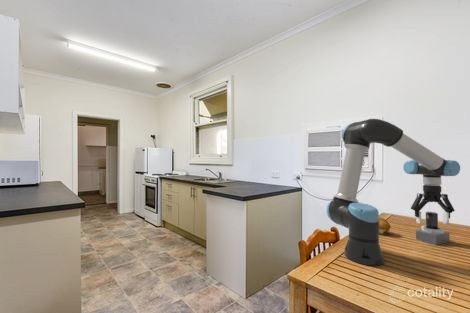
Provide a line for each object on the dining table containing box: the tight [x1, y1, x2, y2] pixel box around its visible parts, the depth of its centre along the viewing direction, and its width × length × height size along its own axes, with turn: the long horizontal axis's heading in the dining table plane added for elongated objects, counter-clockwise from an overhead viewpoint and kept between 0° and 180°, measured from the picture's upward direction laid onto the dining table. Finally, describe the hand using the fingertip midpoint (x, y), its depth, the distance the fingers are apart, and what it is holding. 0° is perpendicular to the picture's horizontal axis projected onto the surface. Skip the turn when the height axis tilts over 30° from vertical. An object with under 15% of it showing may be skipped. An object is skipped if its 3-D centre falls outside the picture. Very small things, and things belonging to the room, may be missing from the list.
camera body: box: [415, 224, 451, 246], centre depth 120 cm, size 13×9×7 cm
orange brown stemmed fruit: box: [379, 217, 391, 235], centre depth 133 cm, size 10×11×10 cm
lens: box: [425, 211, 439, 230], centre depth 121 cm, size 5×5×10 cm
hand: (432, 223), depth 120 cm, fingers open, 13 cm apart
